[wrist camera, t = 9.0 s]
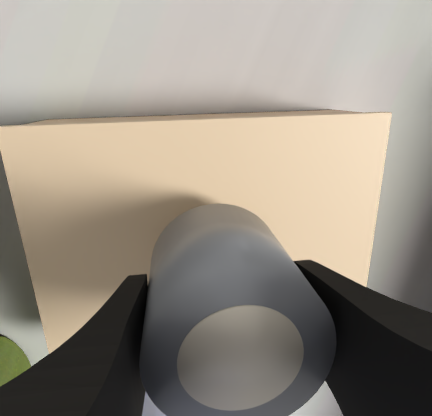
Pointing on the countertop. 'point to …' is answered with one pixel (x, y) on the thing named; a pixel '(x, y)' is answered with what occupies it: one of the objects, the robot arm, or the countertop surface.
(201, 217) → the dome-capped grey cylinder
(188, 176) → the box lid
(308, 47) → the countertop surface
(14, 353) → the plant pot
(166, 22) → the countertop surface
